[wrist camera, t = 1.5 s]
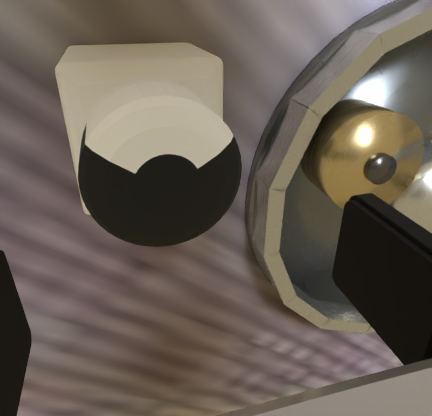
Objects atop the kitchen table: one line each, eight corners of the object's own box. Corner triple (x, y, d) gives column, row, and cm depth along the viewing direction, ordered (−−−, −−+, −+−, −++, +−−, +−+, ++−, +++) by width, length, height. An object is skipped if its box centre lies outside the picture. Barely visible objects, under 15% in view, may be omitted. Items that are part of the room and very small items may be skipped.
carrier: (255, -15, 22) (299, -19, 17) (610, -12, 28) (711, -14, 24) (239, 333, 36) (260, 384, 31) (478, 280, 43) (525, 315, 38)
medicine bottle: (194, 153, 26) (257, 253, 16) (87, 164, 24) (79, 283, 14) (191, 41, 22) (268, 77, 12) (65, 44, 21) (34, 90, 11)
